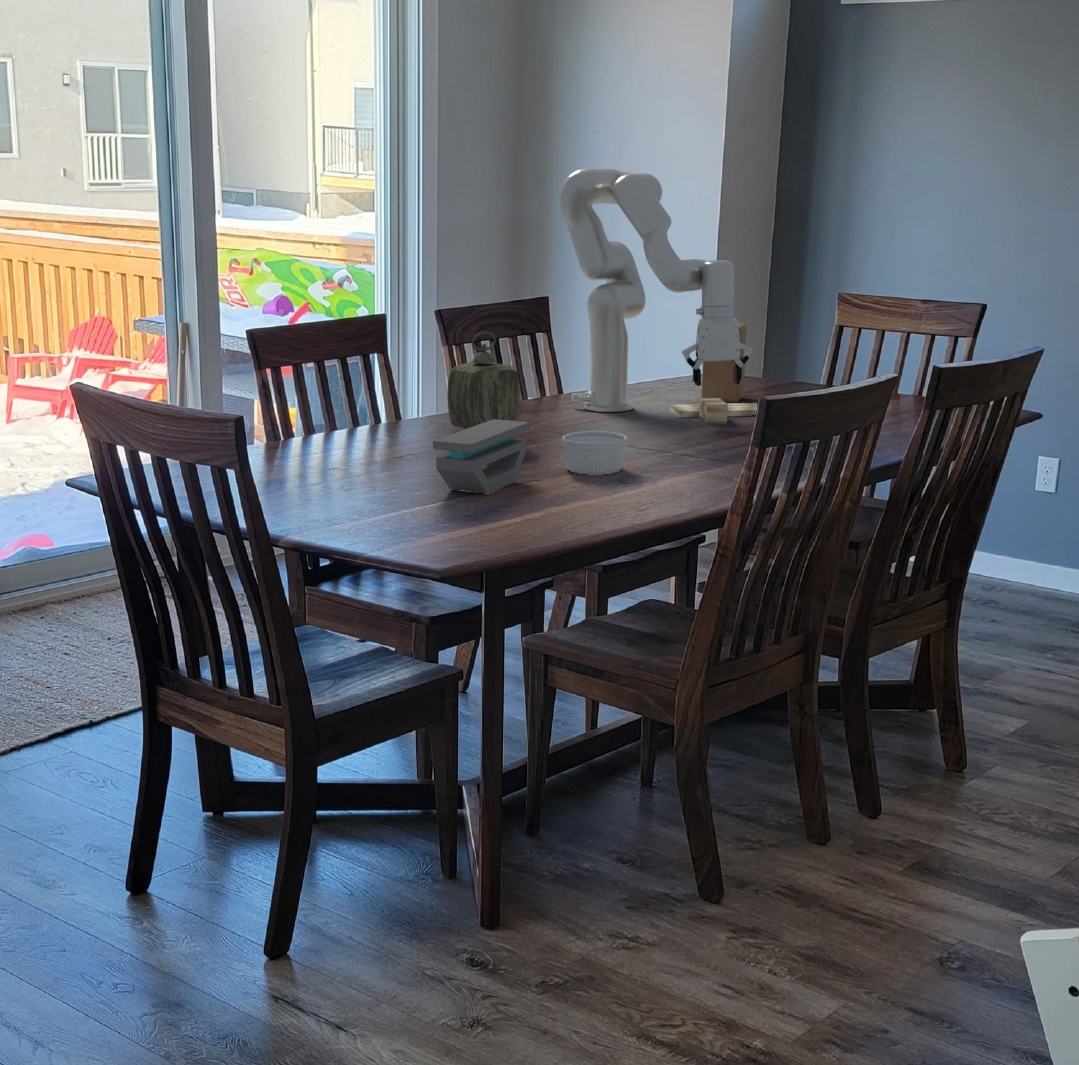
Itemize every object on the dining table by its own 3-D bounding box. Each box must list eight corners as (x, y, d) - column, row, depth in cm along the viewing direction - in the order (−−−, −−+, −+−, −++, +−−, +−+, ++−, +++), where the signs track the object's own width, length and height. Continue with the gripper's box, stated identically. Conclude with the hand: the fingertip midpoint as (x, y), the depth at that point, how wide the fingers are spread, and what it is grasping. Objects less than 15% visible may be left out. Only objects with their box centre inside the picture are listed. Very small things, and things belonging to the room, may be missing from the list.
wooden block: (700, 401, 361) (703, 325, 356) (707, 395, 370) (709, 321, 365) (738, 403, 358) (741, 327, 353) (744, 397, 367) (747, 323, 362)
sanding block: (726, 424, 329) (727, 404, 328) (706, 425, 329) (707, 404, 327) (718, 418, 338) (719, 398, 337) (699, 418, 337) (699, 398, 336)
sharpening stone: (494, 472, 276) (493, 419, 274) (529, 475, 273) (529, 422, 270) (434, 498, 254) (432, 440, 252) (471, 502, 251) (470, 444, 248)
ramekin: (572, 478, 271) (572, 444, 269) (553, 465, 283) (554, 432, 281) (635, 475, 274) (636, 441, 272) (614, 462, 286) (615, 429, 285)
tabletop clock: (496, 436, 313) (495, 327, 306) (523, 442, 306) (523, 330, 300) (448, 445, 303) (446, 332, 296) (475, 451, 297) (474, 336, 290)
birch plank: (679, 417, 338) (679, 411, 337) (669, 410, 347) (670, 404, 347) (773, 415, 341) (773, 409, 340) (761, 408, 350) (761, 402, 350)
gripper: (686, 315, 322) (686, 387, 326) (757, 312, 324) (756, 384, 328) (678, 313, 329) (678, 383, 333) (748, 310, 331) (747, 380, 335)
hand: (717, 384), depth 330 cm, fingers open, 9 cm apart
